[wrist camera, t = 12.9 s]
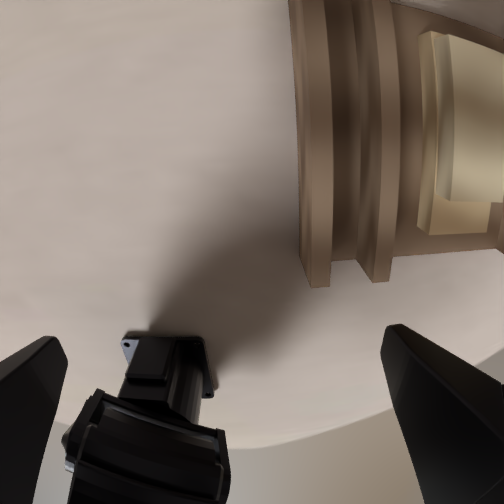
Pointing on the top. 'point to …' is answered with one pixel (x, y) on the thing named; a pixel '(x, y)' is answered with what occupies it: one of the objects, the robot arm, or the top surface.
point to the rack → (367, 135)
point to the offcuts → (460, 134)
